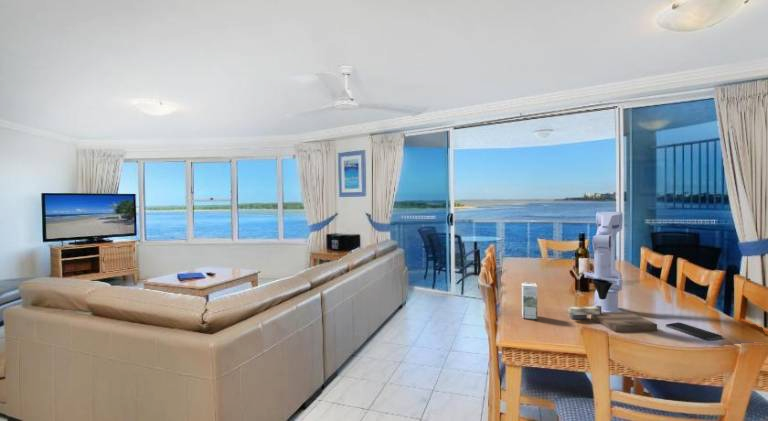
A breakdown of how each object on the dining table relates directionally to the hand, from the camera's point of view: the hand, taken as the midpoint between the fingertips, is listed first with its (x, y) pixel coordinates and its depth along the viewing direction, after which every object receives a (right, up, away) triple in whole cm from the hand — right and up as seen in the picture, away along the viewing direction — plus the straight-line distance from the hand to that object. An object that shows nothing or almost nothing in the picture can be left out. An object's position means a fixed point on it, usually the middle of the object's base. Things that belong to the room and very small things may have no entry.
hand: (602, 298), depth 142 cm
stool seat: (+8, -10, 0) cm, 13 cm away
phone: (+28, -11, -9) cm, 31 cm away
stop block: (-5, -10, +8) cm, 14 cm away
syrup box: (-25, -11, +10) cm, 29 cm away
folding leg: (-4, -7, +5) cm, 10 cm away
